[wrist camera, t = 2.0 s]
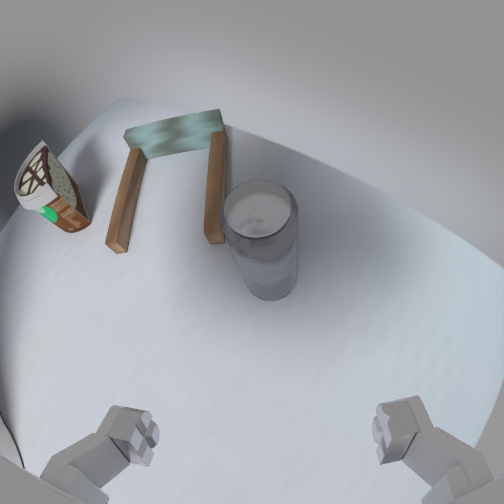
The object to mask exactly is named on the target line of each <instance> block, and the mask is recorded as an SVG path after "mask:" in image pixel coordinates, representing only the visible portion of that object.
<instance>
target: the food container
mask: <svg viewBox="0 0 504 504" xmlns="http://www.w3.org/2000/svg"><path fill="white" fill-rule="evenodd" d="M14 189H15V193H16V196H17V198H18V200H19V202H20V203H21V205H22V206H23V207H24V208H25V209H27V210H36V211H37V212H38V213H40V214H41V215H43V216H44V217H45V218H47V219H48V220H49V221H51V222H52V223H54V224H55V225H56V226H58V227H59V228H61V229H62V230H64V231H65V232H68V233H74V232H78V231H80V230H83V229H84V228H86V227H88V226H89V225H90V224H91V222H90V219H89V217H88V214H87V211H86V208H85V204H84V201H83V198H82V195H81V192H80V188H79V185H78V184H77V183H76V182H75V180H74V179H73V178H72V177H71V176H70V174H69V173H68V172H67V171H66V169H65V168H64V167H63V166H62V164H61V163H60V162H59V160H58V159H57V158H56V157H55V155H54V154H53V153H52V152H51V150H50V147H49V146H48V145H47V144H46V143H45V142H44V141H42V142H40V143H39V144H38V145H37V146H36V147H35V148H34V150H33V151H32V152H31V153H30V154H29V155H28V157H27V158H26V160H25V161H24V163H23V164H22V166H21V168H20V170H19V172H18V174H17V177H16V180H15V185H14Z"/></svg>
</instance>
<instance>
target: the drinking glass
mask: <svg viewBox="0 0 504 504" xmlns="http://www.w3.org/2000/svg"><path fill="white" fill-rule="evenodd" d="M219 216H220V223H221V226H222V229H223V231H224V233H225V236H226V238H227V240H228V243H229V245H230V247H231V249H232V252H233V254H234V256H235V259H236V261H237V263H238V265H239V268H240V270H241V272H242V275H243V277H244V279H245V281H246V284H247V286H248V288H249V290H250V291H251V292H252V293H253V294H254V295H255V296H256V297H258V298H260V299H263V300H268V301H273V300H278V299H281V298H283V297H285V296H286V295H288V294H289V293H290V292H291V291H292V289H293V288H294V286H295V283H296V278H297V237H298V207H297V203H296V201H295V199H294V197H293V195H292V194H291V193H290V192H289V191H288V190H287V189H286V188H284V187H283V186H281V185H279V184H277V183H274V182H272V181H268V180H251V181H248V182H245V183H243V184H241V185H239V186H237V187H236V188H235V189H233V190H232V191H231V193H230V194H229V195H228V196H227V197H226V198H225V200H224V201H223V203H222V206H221V209H220V215H219Z"/></svg>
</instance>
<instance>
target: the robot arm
mask: <svg viewBox="0 0 504 504" xmlns="http://www.w3.org/2000/svg"><path fill="white" fill-rule="evenodd" d="M376 413H377V416H376V417H374V419H373V424H372V432H373V438H374V441H375V442H376V443H378V444H379V446H378V448H377V454H378V458H379V462H380V465H381V464H386V463H391V462H395V461H399V460H402V461H403V462H404V463H405V464H406V465H407V466H408V467H409V468H411V469H412V470H413V471H414V472H415V473H416V474H417V475H419V476H420V477H421V478H422V479H423V480H424V481H425V482H427V483H428V484H429V485H430V486H431V487H432V488H431V489H430V490H429V491H428V492H427V494H426V495H425V496H424V497H423V498H422V504H504V474H503V475H501V476H500V477H498V478H496V479H493V477H492V474H491V472H490V470H489V467H488V465H487V463H486V460H485V458H484V456H483V454H482V453H481V452H479V451H477V450H476V449H474V448H472V447H471V446H469V445H467V444H465V443H464V442H462V441H460V440H459V439H457V438H455V437H454V436H452V435H450V434H449V433H447V432H445V431H444V430H442V429H440V428H439V427H435V428H434V426H433V424H432V422H431V420H430V418H429V415H428V413H427V411H426V409H425V407H424V404H423V402H422V400H421V398H420V397H419V396H418V395H416V396H412V397H409V398H405V399H404V398H403V399H399V400H395V401H390V402H386V403H381V404H378V406H377V409H376ZM151 419H152V415H151V414H150V412H149V411H145V410H139V409H133V408H128V407H123V406H117V405H113V406H112V407H111V408H110V409H109V411H108V413H107V414H106V416H105V418H104V420H103V421H102V423H101V425H100V427H99V428H98V430H97V432H96V434H95V433H92V434H90V435H88V436H87V437H85V438H83V439H82V440H80V441H78V442H76V443H75V444H73V445H71V446H69V447H68V448H66V449H64V450H62V451H60V452H59V453H57V454H55V455H53V456H52V457H51V459H50V460H49V462H48V464H47V466H46V467H45V469H44V471H43V472H42V474H41V476H40V478H39V477H37V476H35V475H34V474H32V473H30V472H29V471H27V470H25V469H24V468H23V467H22V463H21V459H20V456H19V453H18V451H17V448H16V446H15V443H14V441H13V439H12V437H11V435H10V433H9V431H8V429H7V428H6V426H5V424H4V422H3V420H2V418H1V415H0V504H107V503H108V500H109V497H108V495H107V494H106V493H104V492H103V491H102V490H101V489H100V488H102V487H103V486H104V485H105V484H107V483H108V482H109V481H110V480H111V479H113V478H114V477H115V476H116V475H118V474H119V473H120V472H121V471H122V470H124V469H125V468H126V467H127V466H128V465H129V464H130V463H133V464H138V465H143V466H149V465H150V463H151V460H152V457H153V455H154V453H153V451H152V448H154V447H155V446H156V445H157V444H158V441H159V428H158V426H157V424H156V423H155V422H153V421H152V420H151Z"/></svg>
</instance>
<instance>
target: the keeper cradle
mask: <svg viewBox="0 0 504 504" xmlns="http://www.w3.org/2000/svg"><path fill="white" fill-rule="evenodd" d="M123 138H124V139H125V141H126V143H127V144H128V146H129V147H130V149H131V150H130V153H129V156H128V159H127V162H126V166H125V169H124V172H123V175H122V179H121V182H120V186H119V189H118V193H117V196H116V200H115V204H114V208H113V212H112V216H111V220H110V224H109V228H108V233H107V237H106V242H105V244H106V245H107V246H108V247H109V248H110V249H112V250H113V251H114V252H115V253H116V254H117V253H127V249H128V243H129V237H130V232H131V227H132V222H133V217H134V212H135V207H136V202H137V198H138V194H139V189H140V185H141V181H142V177H143V173H144V169H145V165H146V161H147V159H150V158H155V157H160V156H165V155H170V154H175V153H180V152H186V151H191V150H197V149H203V148H210V154H209V165H208V177H207V190H206V204H205V219H204V234H205V235H206V237H207V239H208V241H209V243H210V244H218V243H225V233H224V231H223V229H222V226H221V223H220V216H219V215H220V209H221V206H222V203H223V201H224V200H225V194H226V160H227V134H226V131H225V127H224V123H223V120H222V116H221V113H220V109H217V110H211V111H205V112H200V113H194V114H189V115H184V116H179V117H175V118H170V119H166V120H161V121H157V122H153V123H149V124H145V125H141V126H138V127H134V128H130V129H127V130H126V131H125V134H124V136H123Z"/></svg>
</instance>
